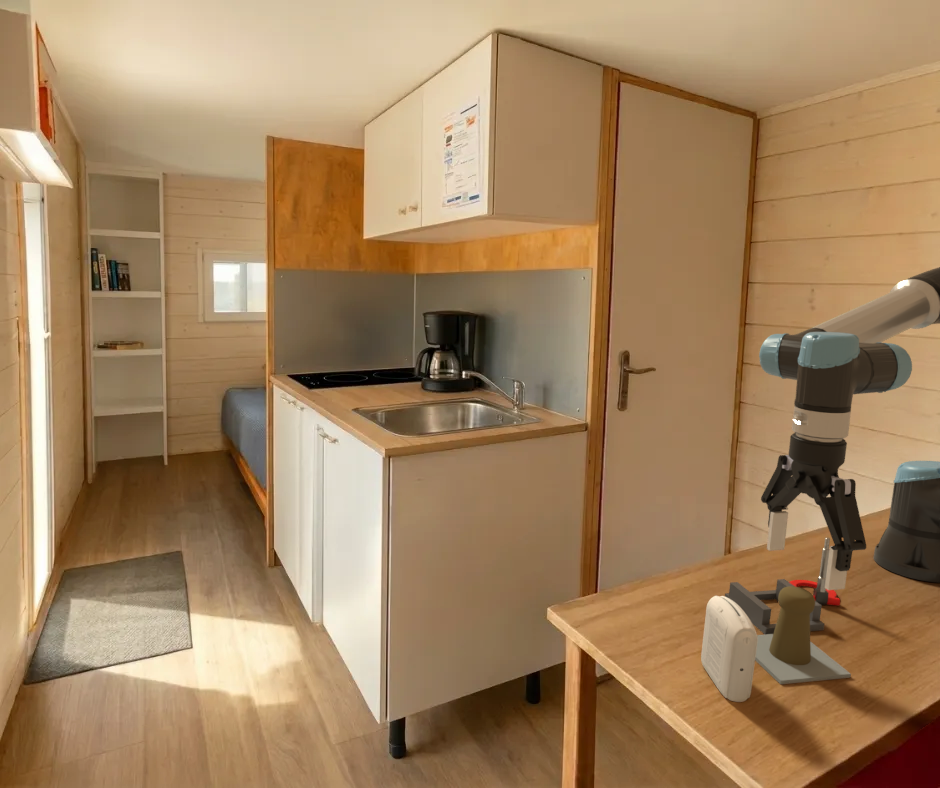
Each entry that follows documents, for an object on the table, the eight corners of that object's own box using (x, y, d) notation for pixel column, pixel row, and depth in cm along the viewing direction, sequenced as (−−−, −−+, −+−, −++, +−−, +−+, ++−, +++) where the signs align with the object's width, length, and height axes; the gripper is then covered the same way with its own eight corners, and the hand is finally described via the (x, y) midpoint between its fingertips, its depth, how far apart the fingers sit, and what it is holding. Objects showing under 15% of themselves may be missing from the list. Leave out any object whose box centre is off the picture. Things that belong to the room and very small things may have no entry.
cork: (796, 669, 100) (805, 603, 98) (761, 650, 105) (768, 586, 103) (818, 658, 103) (827, 593, 101) (783, 639, 108) (790, 578, 106)
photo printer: (754, 703, 93) (764, 623, 90) (725, 703, 92) (734, 623, 90) (723, 660, 103) (731, 588, 101) (696, 661, 103) (704, 588, 100)
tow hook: (781, 583, 131) (797, 603, 122) (788, 521, 129) (805, 537, 120) (826, 587, 130) (845, 608, 121) (833, 525, 128) (853, 541, 119)
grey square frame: (777, 595, 125) (780, 576, 124) (823, 630, 113) (826, 608, 112) (724, 599, 123) (726, 579, 122) (765, 634, 111) (767, 613, 110)
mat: (797, 634, 111) (798, 631, 111) (850, 677, 99) (851, 673, 99) (734, 640, 109) (734, 636, 109) (780, 684, 97) (780, 680, 97)
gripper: (746, 417, 109) (735, 537, 113) (860, 460, 85) (840, 610, 89) (786, 416, 110) (774, 534, 114) (909, 458, 86) (888, 605, 90)
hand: (803, 567), depth 101 cm, fingers open, 13 cm apart
